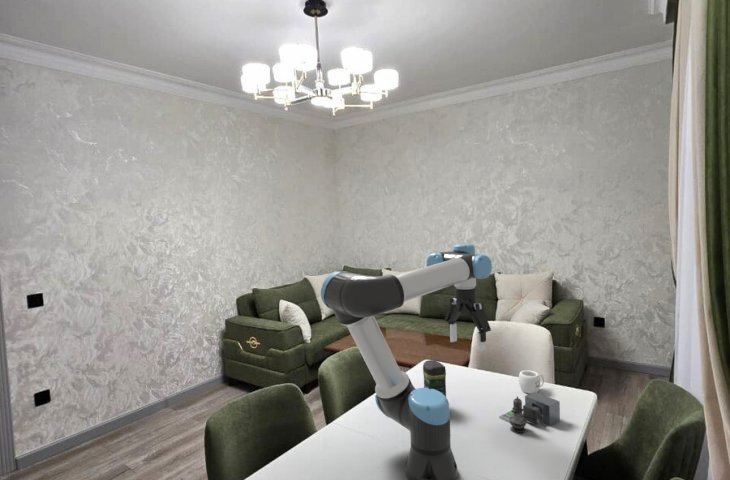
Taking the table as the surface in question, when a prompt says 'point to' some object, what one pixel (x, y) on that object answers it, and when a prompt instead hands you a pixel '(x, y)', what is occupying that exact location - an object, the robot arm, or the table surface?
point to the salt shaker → (517, 418)
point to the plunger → (531, 413)
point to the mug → (530, 381)
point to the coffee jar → (434, 376)
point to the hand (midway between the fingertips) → (467, 345)
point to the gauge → (548, 408)
